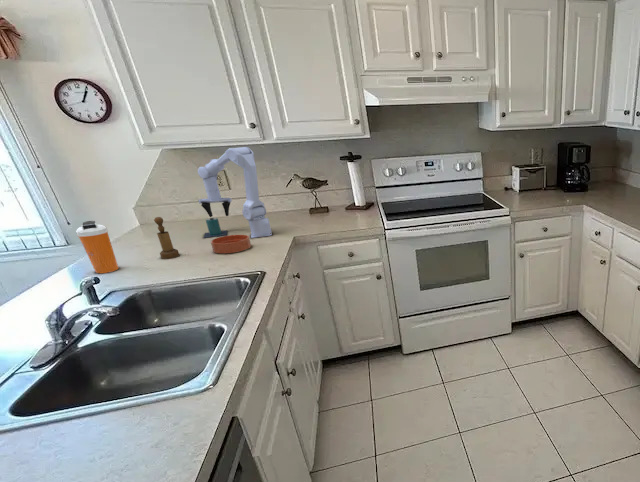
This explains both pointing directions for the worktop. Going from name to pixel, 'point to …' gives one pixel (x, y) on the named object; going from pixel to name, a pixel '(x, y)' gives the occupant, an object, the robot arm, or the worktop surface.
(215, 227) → the teal cup
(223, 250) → the terracotta bowl
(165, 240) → the wooden pepper mill
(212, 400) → the worktop surface
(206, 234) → the slate coaster
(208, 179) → the robot arm
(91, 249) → the shaker bottle
